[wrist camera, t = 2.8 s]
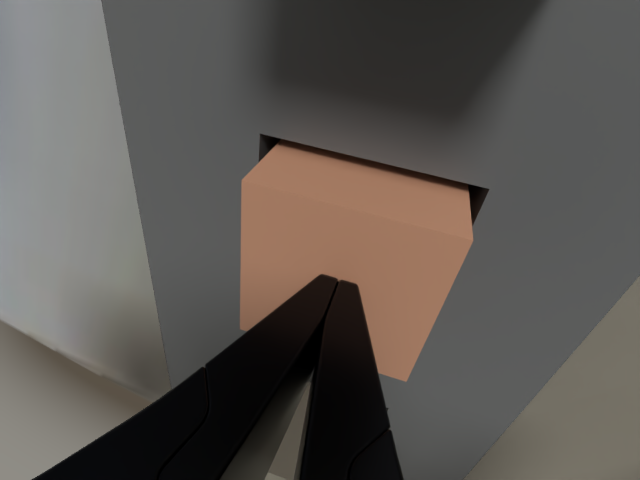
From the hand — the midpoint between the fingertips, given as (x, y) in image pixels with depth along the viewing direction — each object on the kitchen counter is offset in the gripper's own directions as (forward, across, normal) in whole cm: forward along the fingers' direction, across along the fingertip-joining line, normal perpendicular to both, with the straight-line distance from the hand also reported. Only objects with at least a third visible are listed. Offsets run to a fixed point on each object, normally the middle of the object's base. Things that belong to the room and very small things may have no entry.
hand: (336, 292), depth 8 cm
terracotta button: (+3, 0, 0) cm, 3 cm away
